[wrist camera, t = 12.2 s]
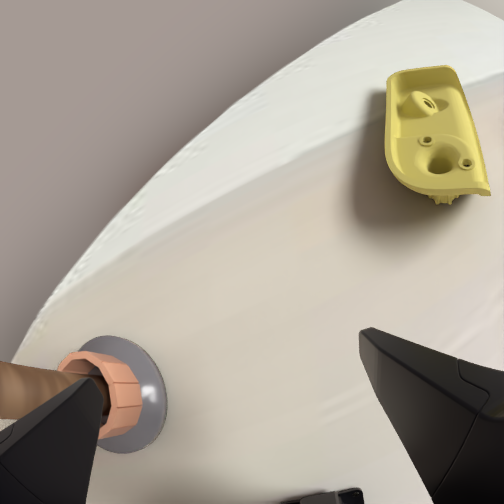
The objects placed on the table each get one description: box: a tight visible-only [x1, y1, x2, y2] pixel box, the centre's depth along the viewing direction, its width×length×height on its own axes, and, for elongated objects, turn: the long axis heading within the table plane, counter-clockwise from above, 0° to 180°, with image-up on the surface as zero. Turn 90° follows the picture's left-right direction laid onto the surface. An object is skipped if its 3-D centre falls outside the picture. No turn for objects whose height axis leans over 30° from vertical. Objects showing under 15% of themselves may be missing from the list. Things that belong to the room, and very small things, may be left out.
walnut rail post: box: [0, 361, 112, 419], centre depth 16 cm, size 4×4×12 cm
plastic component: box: [385, 65, 491, 205], centre depth 23 cm, size 20×7×10 cm
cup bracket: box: [57, 336, 167, 453], centre depth 20 cm, size 11×11×4 cm
